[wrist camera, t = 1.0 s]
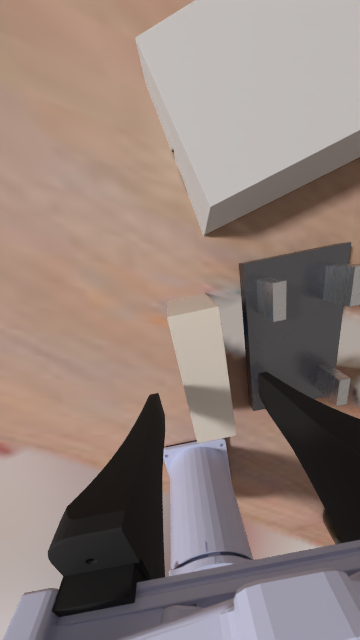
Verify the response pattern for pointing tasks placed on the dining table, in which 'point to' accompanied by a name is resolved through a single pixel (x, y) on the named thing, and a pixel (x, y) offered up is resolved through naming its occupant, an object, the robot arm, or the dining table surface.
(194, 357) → the cream rectangular block
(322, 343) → the rack
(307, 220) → the dining table surface
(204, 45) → the long grey wedge ramp
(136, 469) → the robot arm
